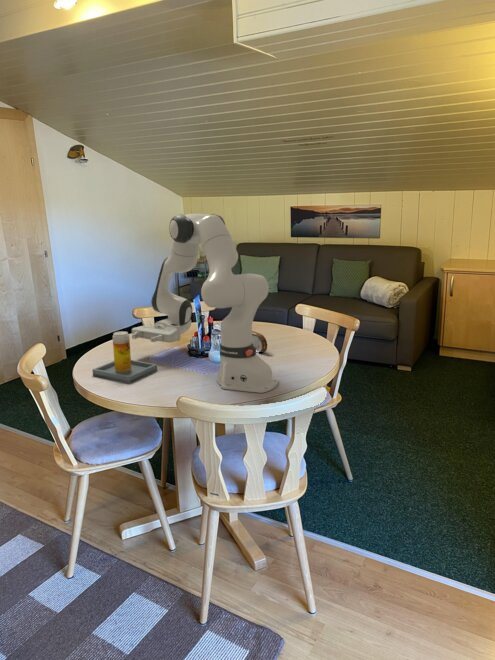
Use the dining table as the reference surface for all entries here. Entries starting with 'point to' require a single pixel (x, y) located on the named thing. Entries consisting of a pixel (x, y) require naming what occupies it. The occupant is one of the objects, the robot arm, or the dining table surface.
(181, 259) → the robot arm
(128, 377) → the tray
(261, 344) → the tin
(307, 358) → the dining table surface
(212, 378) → the dining table surface
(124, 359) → the beer can
